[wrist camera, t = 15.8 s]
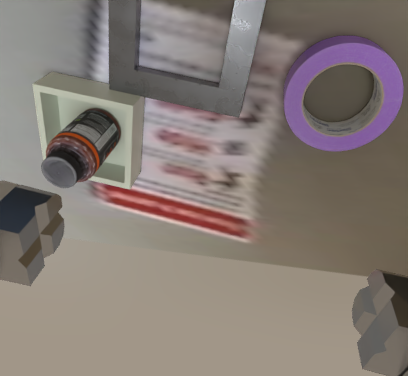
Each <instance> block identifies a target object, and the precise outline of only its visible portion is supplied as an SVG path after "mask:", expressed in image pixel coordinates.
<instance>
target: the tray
mask: <svg viewBox="0 0 408 376" xmlns="http://www.w3.org/2000/svg"><path fill="white" fill-rule="evenodd" d="M33 91H34V99H35V106H36V113H37V120H38V127H39V134H40V141H41V148H42V155H43V161H44V159H45V158H46V148H47V146H48V144H49V142H50V141H51V140H52V139H53V138H54V137H55V136H56V135H57V134H58V133H60V132H61V131H62V130H63V129H64V128H65V127H66V126H67V125H68V124H70V123H71V122H72V121H73V120H74V119H75V118H77V116H79V115H80V114H81V113H83V112H84V111H86V110H88V109H101V110H104V111H106V112H108V113H109V114H110V115H112V116H113V117H114V118H115V120H116V121H117V123H118V125H119V127H120V131H121V133H120V134H121V135H120V140H119V142H118V144H117V146H116V147H115V148H114V150H113V151H112V152H111V153H110V154H109V156H108V157H107V158H106V160H105V161H104V162H103V164H102V165H101V166H100V167H99V169H98V170H97V171H96V172H95V174H94V175H93V176H92V177H91V178H90V179H88V180H92V181H96V182H100V183H105V184H109V185H113V186H117V187H122V188H126V189H131V187H132V185H133V184H134V182H135V180H136V179H137V177H138V175H139V174H140V172H141V158H142V140H143V122H144V103H145V97H142V96H138V95H133V94H128V93H124V92H119V91H115V90H110V89H109V84H106V83H102V82H97V81H93V80H88V79H83V78H79V77H74V76H69V75H65V74H60V73H56V72H51V73H50V74H48V75H46V76H45V77H43V78H41V79H40V80H38V81H36V82H35V83H33Z"/></svg>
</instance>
